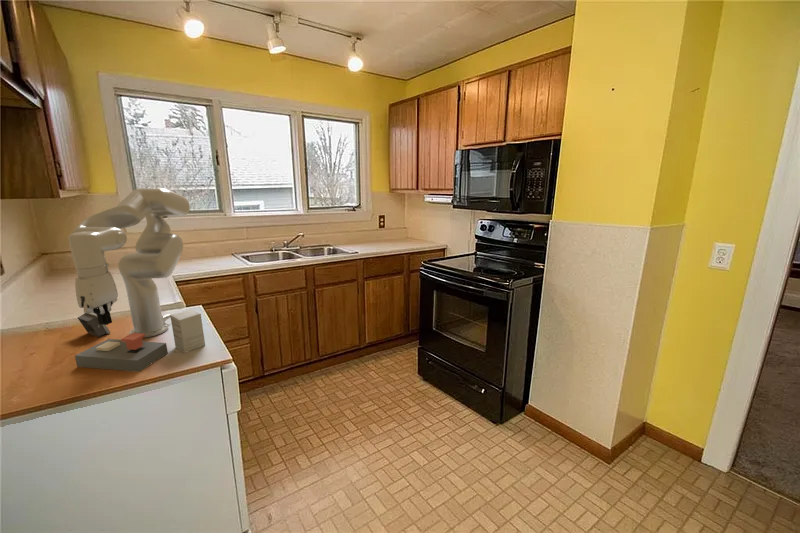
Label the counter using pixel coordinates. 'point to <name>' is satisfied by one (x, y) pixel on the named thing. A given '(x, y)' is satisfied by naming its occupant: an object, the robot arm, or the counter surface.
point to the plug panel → (122, 356)
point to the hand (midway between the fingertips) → (105, 323)
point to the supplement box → (187, 330)
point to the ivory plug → (108, 346)
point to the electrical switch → (93, 324)
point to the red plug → (133, 340)
